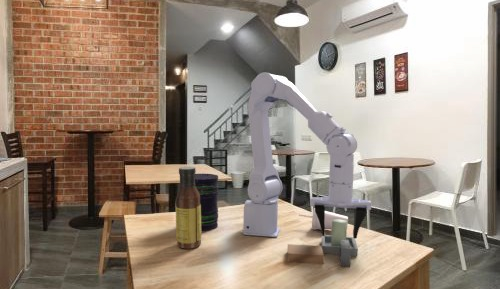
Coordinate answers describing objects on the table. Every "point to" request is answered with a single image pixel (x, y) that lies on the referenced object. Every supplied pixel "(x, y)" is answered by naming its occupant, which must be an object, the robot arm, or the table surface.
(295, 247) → the tan rectangular block
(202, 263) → the table surface
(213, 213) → the storage jar
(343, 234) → the sage dowel
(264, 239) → the table surface
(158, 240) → the table surface
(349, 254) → the post
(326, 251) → the slate tray
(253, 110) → the robot arm
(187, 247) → the sauce bottle
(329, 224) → the smoothie
